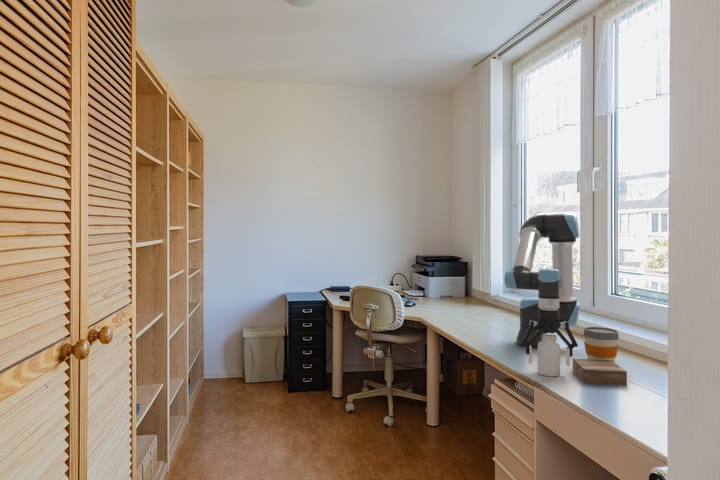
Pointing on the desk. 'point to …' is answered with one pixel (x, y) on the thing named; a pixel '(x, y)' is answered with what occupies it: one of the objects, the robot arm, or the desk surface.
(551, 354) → the pill bottle
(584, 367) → the walnut base
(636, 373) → the desk surface
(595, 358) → the reusable coffee cup
